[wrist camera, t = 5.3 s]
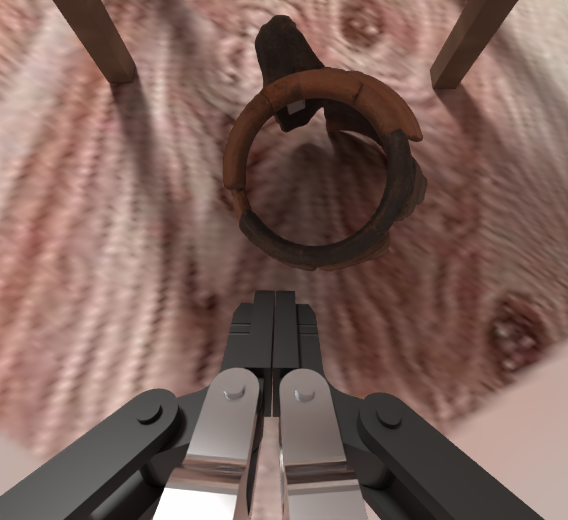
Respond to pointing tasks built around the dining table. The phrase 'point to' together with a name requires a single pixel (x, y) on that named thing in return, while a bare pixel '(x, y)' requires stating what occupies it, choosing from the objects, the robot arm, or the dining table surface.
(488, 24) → the wooden side table
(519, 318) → the dining table surface
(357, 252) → the pottery mug
